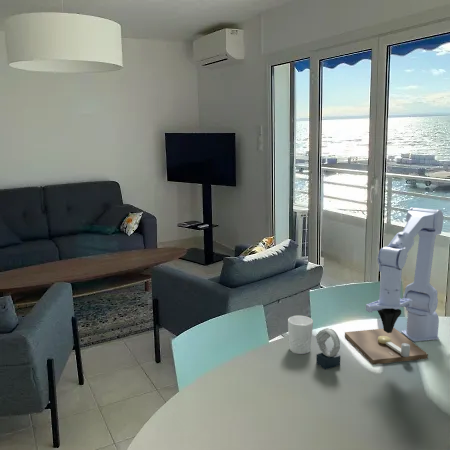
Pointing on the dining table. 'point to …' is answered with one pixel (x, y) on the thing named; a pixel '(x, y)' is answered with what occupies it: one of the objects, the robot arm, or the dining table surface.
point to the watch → (327, 357)
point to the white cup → (300, 334)
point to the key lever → (403, 350)
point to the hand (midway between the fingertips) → (387, 331)
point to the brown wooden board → (383, 346)
